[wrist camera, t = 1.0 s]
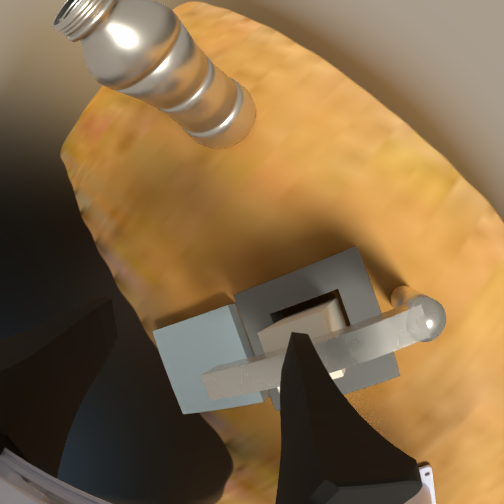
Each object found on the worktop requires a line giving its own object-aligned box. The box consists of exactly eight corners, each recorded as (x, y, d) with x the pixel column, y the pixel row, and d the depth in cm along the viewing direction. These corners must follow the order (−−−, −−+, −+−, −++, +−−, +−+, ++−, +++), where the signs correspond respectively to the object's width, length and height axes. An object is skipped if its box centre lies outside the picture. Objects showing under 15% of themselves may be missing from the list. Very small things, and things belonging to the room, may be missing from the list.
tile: (269, 395, 25) (263, 401, 24) (191, 408, 28) (183, 414, 27) (235, 303, 27) (227, 304, 26) (161, 328, 30) (152, 331, 28)
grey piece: (410, 281, 21) (439, 291, 12) (418, 305, 21) (450, 331, 11) (262, 336, 26) (199, 371, 16) (270, 357, 25) (211, 403, 16)
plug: (352, 343, 23) (343, 376, 16) (307, 357, 24) (279, 393, 17) (336, 297, 24) (321, 311, 16) (291, 313, 25) (257, 332, 18)
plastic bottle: (276, 112, 26) (141, -48, 8) (232, 168, 28) (47, 59, 9) (230, 87, 28) (96, -38, 10) (190, 137, 30) (28, 44, 11)
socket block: (397, 363, 21) (400, 375, 19) (286, 396, 25) (275, 410, 22) (357, 248, 23) (356, 245, 20) (248, 292, 26) (233, 294, 24)
